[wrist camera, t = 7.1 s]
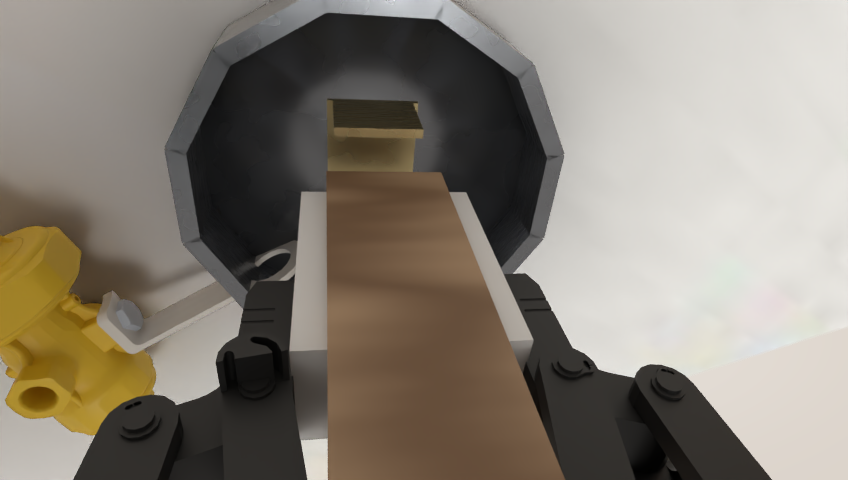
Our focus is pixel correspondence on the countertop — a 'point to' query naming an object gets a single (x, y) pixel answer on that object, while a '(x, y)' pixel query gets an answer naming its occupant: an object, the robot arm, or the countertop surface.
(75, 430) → the pressure relief valve
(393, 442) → the wooden beam block
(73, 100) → the countertop surface
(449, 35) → the tin
